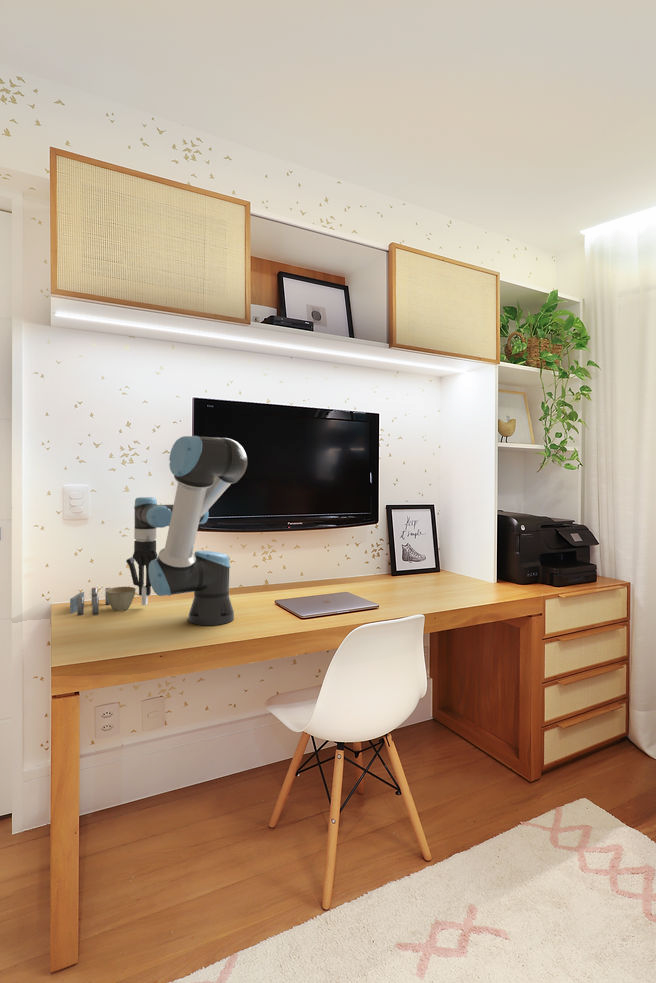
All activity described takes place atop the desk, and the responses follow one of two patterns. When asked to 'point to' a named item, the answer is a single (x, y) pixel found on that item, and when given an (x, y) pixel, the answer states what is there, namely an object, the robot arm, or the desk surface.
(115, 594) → the flower pot
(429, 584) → the desk surface
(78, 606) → the pin cradle
